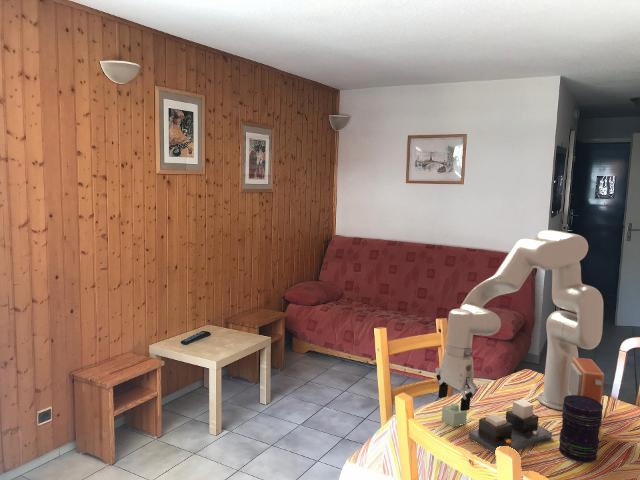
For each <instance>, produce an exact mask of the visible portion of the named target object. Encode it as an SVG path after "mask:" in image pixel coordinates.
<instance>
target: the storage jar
mask: <svg viewBox="0 0 640 480" xmlns="http://www.w3.org/2000/svg"><path fill="white" fill-rule="evenodd" d="M603 407H604V405H603V404H602V402H601V403H600V402H598V401H596V400H594V399H592V398H589V397H585V396H579V395H569V396H566V397H565V398H564V404H563V409H562V410H561V411H562V413H561V419H562V424H561V429H560V432H559V439H558V440H559V444H558V445H559V446H558V451H559V453H560V454H561V455H562V456H564V457H565V458H567V459H569V460H571V461H574V462H578V463H583V464H585V463H586V464H591V463H594V462H596V461H597V459H598V453H599V452H598V451H599V449H600V438H599V434H600V428H601V427H602V420H603V410H604V409H603Z"/></svg>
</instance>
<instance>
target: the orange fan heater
mask: <svg viewBox="0 0 640 480" xmlns="http://www.w3.org/2000/svg"><path fill="white" fill-rule="evenodd" d="M570 365H571V366H570V376H569V385H568V393H569V395H579V396H585V397H589V398H592V399H594V400H596V401H598V402H600V403H601V404H602V399H603V394H604V380H605V374H604V372H603V371H602V370H601V369H600V368H599V366H598V365H597V364H596V362H595V361H594V360H593V359H592V358H586V357H585V358H584V357H583V358H582V357H578V358H575V357H573V361H572V363H571V364H570Z"/></svg>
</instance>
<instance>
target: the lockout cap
mask: <svg viewBox="0 0 640 480" xmlns="http://www.w3.org/2000/svg"><path fill="white" fill-rule="evenodd" d="M460 406H461V405H459V404H458V403H456V402H455V403H450V404H449V405H446V406H445V405H444V406H441V407H442V408H441V421H442V422H444V423H446V424H447V425H449V426H450V425H451V426H450V427H452V426H453V427H452V428H456V427H459V426H458V425H460V424H464V423H466V424H467V415H468V414H467V413H468V410H466V411H461V410H460ZM464 425H465V424H464ZM455 426H456V427H455ZM460 426H461V425H460Z"/></svg>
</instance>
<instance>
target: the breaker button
mask: <svg viewBox="0 0 640 480" xmlns="http://www.w3.org/2000/svg"><path fill="white" fill-rule="evenodd" d="M511 410H512V413H513V414H515V415H517V416H519V417H521V418H522V419H525V418H528V417H531V416H532V415H533V414H534V404H533V403H531V402H529V401H527V400H525V399H519V400H514V401H513V402H512V409H511Z"/></svg>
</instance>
